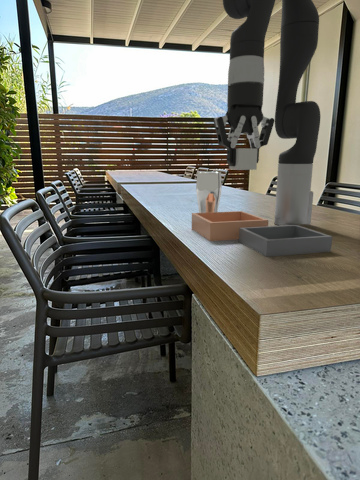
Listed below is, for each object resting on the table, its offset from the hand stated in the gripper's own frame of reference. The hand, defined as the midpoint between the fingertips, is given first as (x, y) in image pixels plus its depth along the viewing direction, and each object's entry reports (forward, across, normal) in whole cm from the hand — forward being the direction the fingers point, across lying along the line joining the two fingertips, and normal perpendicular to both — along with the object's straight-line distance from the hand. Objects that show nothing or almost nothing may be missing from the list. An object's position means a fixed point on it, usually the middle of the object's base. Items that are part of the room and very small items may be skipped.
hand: (242, 165), depth 75 cm
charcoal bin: (+17, -4, +12) cm, 21 cm away
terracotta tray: (+17, +2, -4) cm, 18 cm away
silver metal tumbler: (+17, +1, -18) cm, 25 cm away
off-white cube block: (+1, 0, 0) cm, 1 cm away
